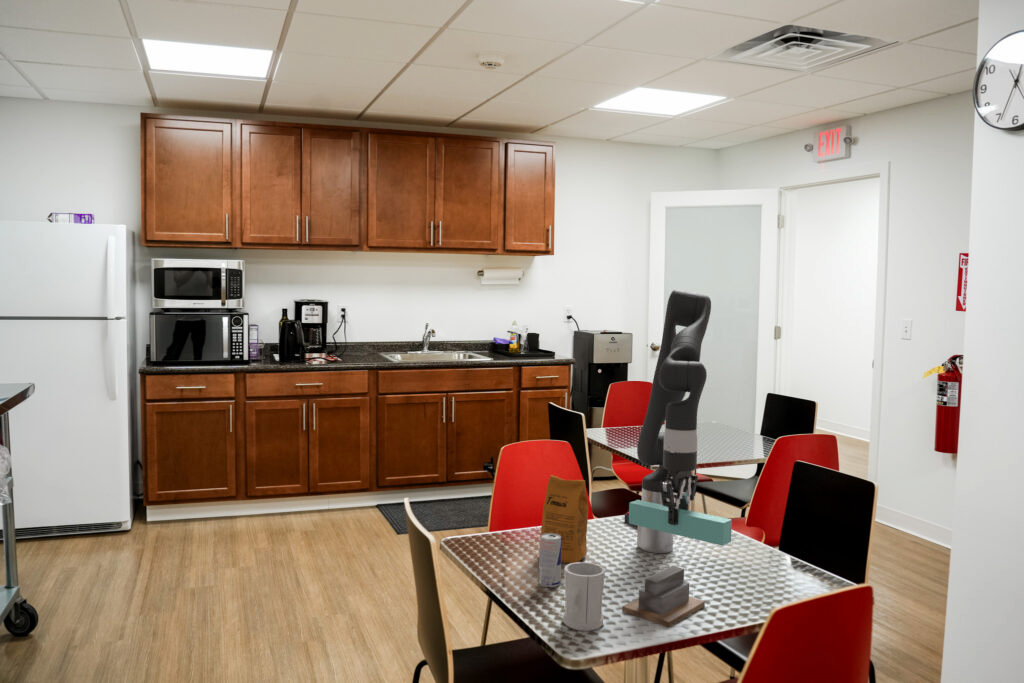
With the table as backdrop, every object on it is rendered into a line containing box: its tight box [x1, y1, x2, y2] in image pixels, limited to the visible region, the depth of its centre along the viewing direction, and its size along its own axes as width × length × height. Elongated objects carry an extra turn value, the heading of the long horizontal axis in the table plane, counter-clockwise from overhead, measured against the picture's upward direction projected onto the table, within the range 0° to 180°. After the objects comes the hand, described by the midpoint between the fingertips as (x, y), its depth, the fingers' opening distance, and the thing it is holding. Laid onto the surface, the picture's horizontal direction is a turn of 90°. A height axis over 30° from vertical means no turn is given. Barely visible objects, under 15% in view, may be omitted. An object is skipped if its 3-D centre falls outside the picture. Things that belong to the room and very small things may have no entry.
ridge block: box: [621, 565, 706, 628], centre depth 176 cm, size 12×16×8 cm
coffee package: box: [540, 474, 589, 564], centre depth 209 cm, size 10×12×22 cm
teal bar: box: [628, 499, 733, 547], centre depth 176 cm, size 24×4×5 cm, turn 49°
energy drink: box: [538, 533, 562, 589], centre depth 189 cm, size 5×5×12 cm
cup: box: [562, 561, 606, 632], centre depth 166 cm, size 10×9×12 cm
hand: (677, 522), depth 176 cm, fingers closed on teal bar, 4 cm apart
